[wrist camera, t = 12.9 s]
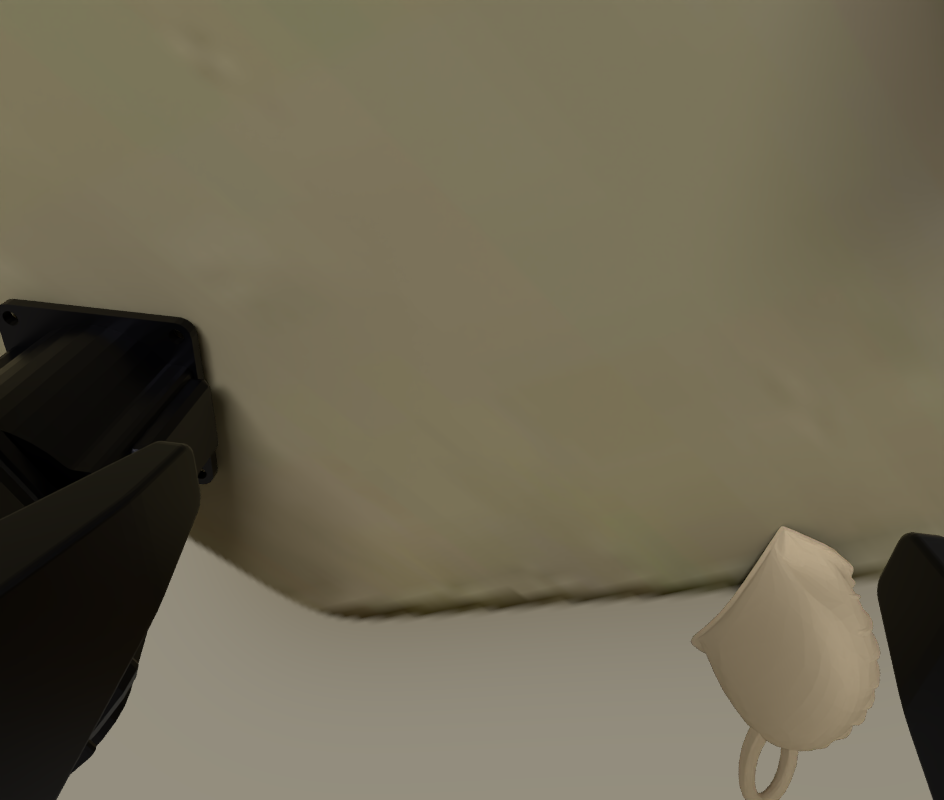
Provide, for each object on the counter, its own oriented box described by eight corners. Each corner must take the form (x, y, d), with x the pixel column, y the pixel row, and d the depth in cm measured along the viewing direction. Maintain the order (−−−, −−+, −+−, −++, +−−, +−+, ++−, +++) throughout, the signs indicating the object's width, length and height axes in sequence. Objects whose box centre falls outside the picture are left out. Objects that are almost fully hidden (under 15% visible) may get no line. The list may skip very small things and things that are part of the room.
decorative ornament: (887, 558, 26) (955, 689, 21) (756, 691, 30) (789, 823, 26) (784, 520, 25) (831, 645, 21) (667, 660, 30) (685, 789, 25)
